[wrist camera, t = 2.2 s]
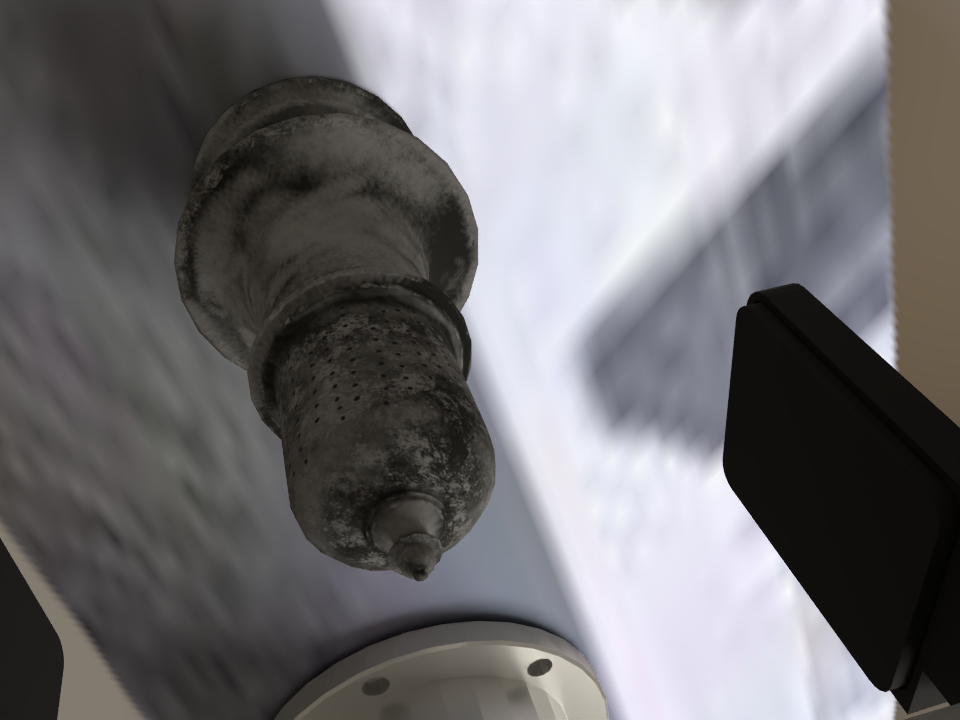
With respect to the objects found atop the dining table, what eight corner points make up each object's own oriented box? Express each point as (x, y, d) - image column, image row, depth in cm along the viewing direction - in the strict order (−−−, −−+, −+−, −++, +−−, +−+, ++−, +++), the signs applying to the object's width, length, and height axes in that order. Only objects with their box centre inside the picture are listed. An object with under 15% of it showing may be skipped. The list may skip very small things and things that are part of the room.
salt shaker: (116, 190, 19) (37, 617, 10) (319, 1, 18) (462, 262, 9) (308, 351, 23) (395, 789, 13) (489, 198, 22) (730, 547, 12)
